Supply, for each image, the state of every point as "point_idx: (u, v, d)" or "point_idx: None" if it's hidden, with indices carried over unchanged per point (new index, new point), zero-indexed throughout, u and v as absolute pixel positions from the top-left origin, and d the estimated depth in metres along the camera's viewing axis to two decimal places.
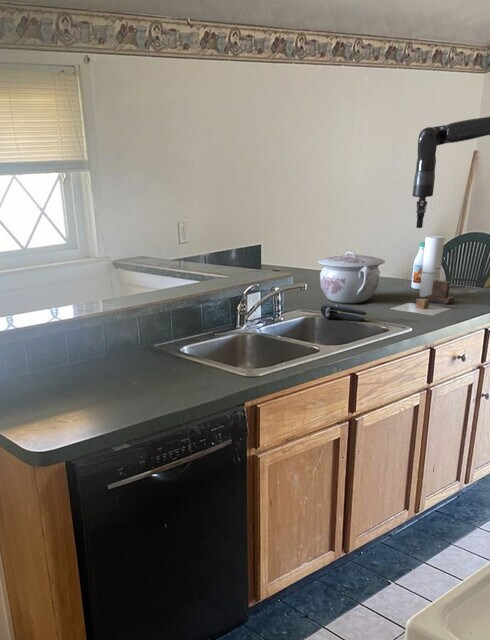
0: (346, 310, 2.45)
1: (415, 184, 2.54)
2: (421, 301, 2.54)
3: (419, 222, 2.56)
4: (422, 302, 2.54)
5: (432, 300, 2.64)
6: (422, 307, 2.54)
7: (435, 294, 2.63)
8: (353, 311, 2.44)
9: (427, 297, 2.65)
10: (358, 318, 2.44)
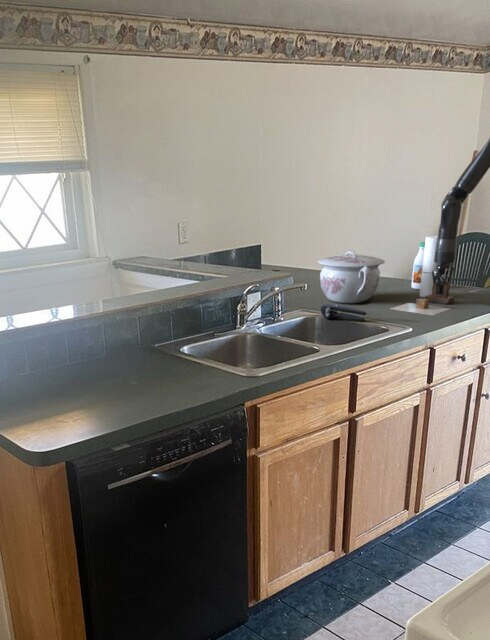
0: (346, 310, 2.45)
1: (435, 250, 2.57)
2: (421, 301, 2.54)
3: (437, 289, 2.61)
4: (422, 302, 2.54)
5: (432, 300, 2.64)
6: (422, 307, 2.54)
7: (435, 294, 2.63)
8: (353, 311, 2.44)
9: (427, 297, 2.65)
10: (358, 318, 2.44)
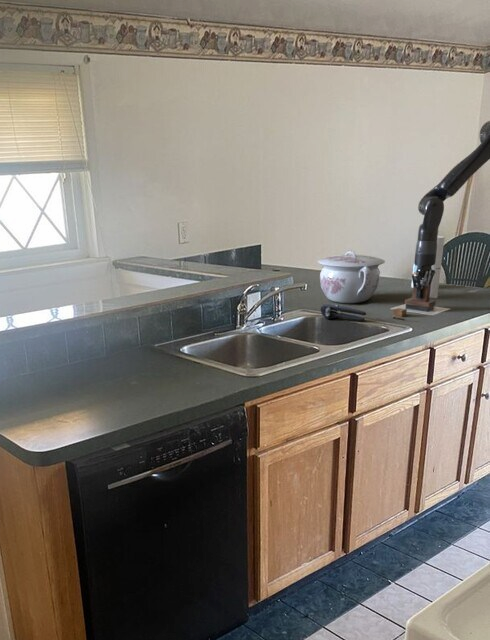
0: (346, 310, 2.45)
1: (415, 252, 2.47)
2: (398, 311, 2.45)
3: (417, 293, 2.51)
4: (399, 312, 2.44)
5: (412, 304, 2.54)
6: None
7: (416, 298, 2.54)
8: (353, 311, 2.44)
9: (407, 301, 2.55)
10: (358, 318, 2.44)
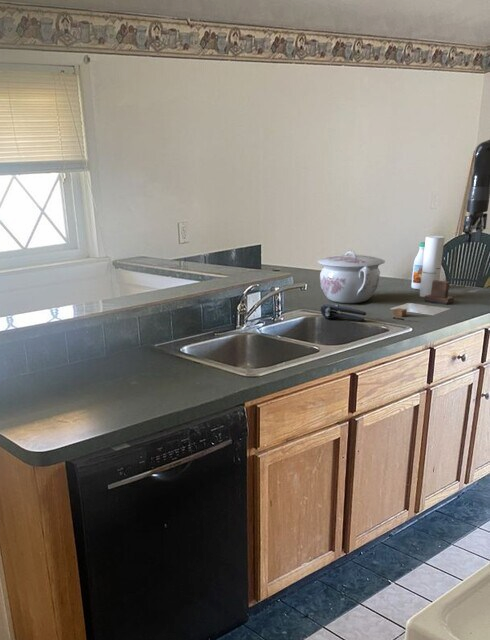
0: (346, 310, 2.45)
1: (468, 199, 2.49)
2: (398, 311, 2.45)
3: (466, 238, 2.51)
4: (399, 312, 2.44)
5: (431, 300, 2.64)
6: None
7: (435, 294, 2.64)
8: (353, 311, 2.44)
9: (426, 297, 2.65)
10: (358, 318, 2.44)
